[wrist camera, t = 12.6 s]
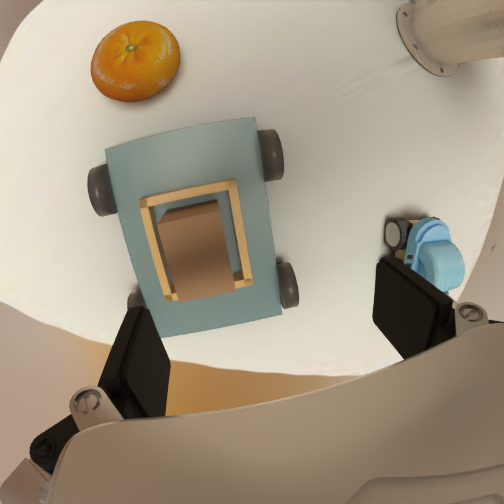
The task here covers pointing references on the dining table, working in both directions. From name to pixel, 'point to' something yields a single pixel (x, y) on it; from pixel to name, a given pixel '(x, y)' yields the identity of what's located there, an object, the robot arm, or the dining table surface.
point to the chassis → (191, 192)
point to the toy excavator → (427, 251)
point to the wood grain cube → (196, 251)
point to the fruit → (135, 61)
